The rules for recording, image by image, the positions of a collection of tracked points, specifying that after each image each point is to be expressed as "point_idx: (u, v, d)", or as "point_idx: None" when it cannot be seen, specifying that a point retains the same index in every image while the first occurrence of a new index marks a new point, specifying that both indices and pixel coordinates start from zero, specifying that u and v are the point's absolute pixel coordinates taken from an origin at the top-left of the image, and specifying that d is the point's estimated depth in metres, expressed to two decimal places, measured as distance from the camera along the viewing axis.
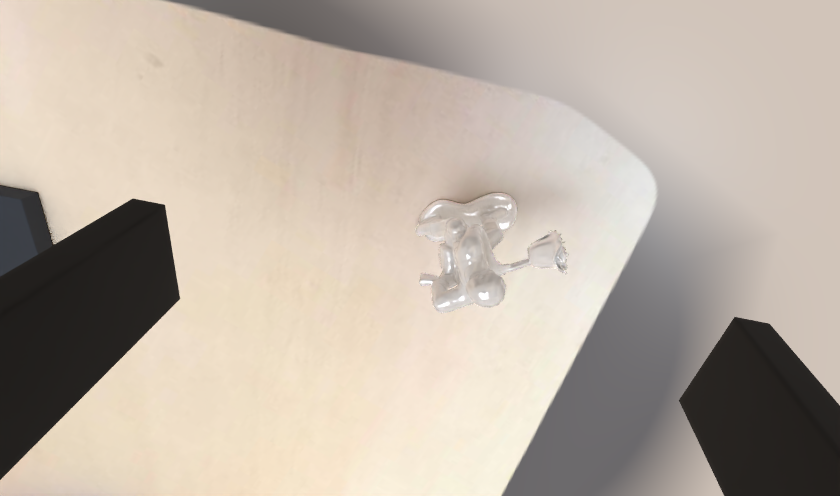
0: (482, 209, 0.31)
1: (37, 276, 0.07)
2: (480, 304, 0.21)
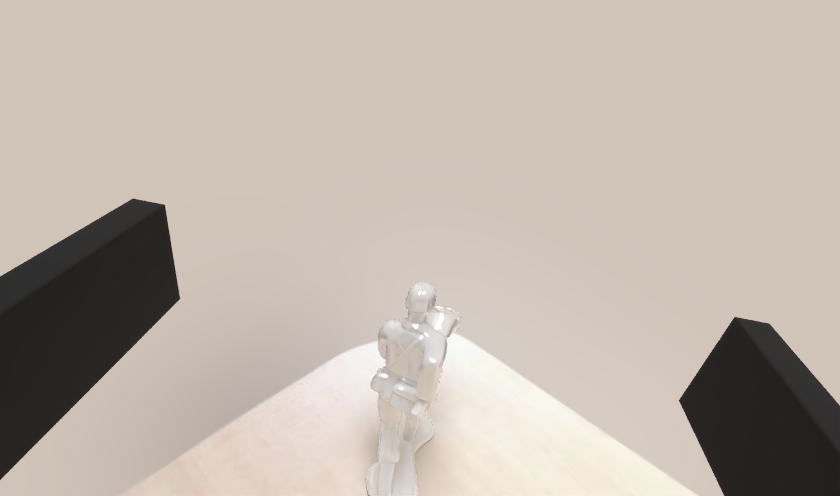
0: (400, 434, 0.28)
1: (37, 276, 0.07)
2: (427, 292, 0.22)
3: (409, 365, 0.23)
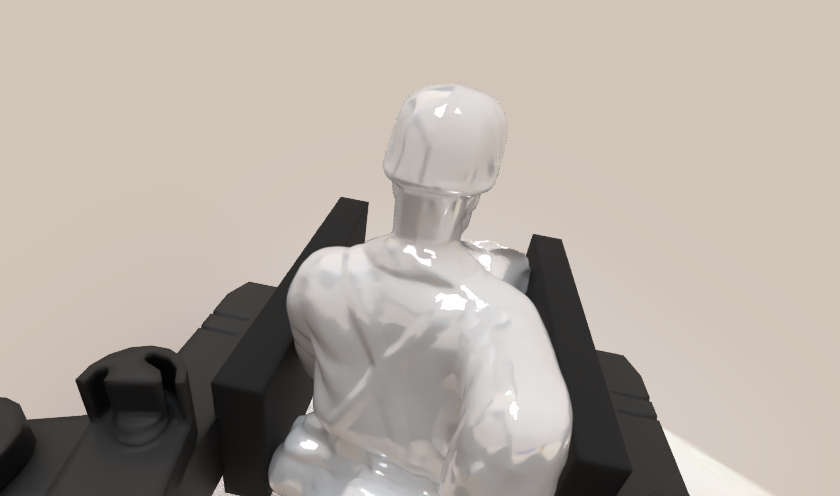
0: None
1: None
2: (476, 103, 0.05)
3: (399, 416, 0.06)
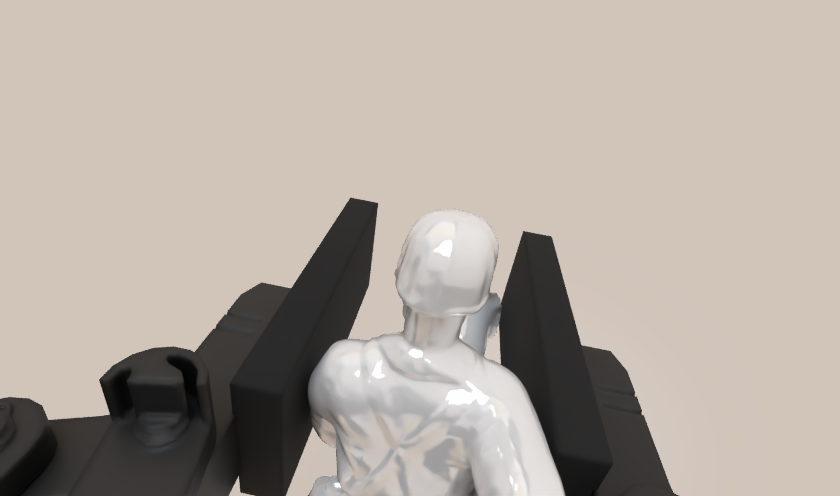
0: None
1: (335, 260, 0.09)
2: (476, 240, 0.06)
3: (417, 486, 0.07)
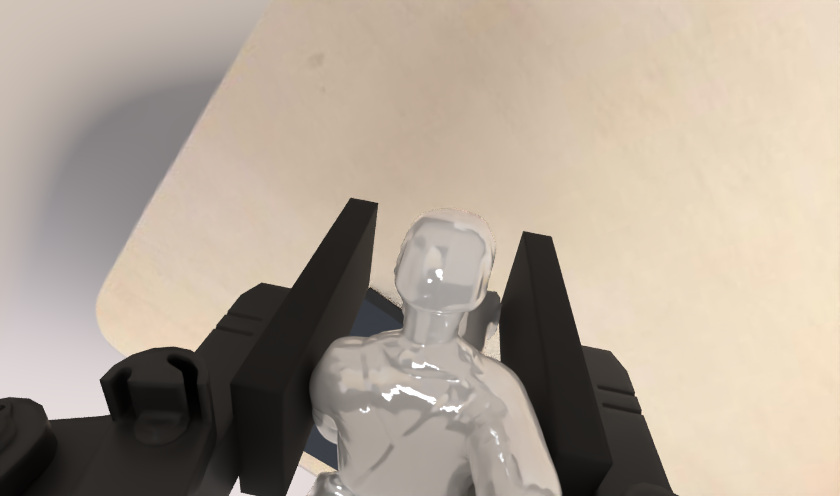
0: None
1: (335, 260, 0.09)
2: (474, 238, 0.06)
3: (416, 480, 0.07)
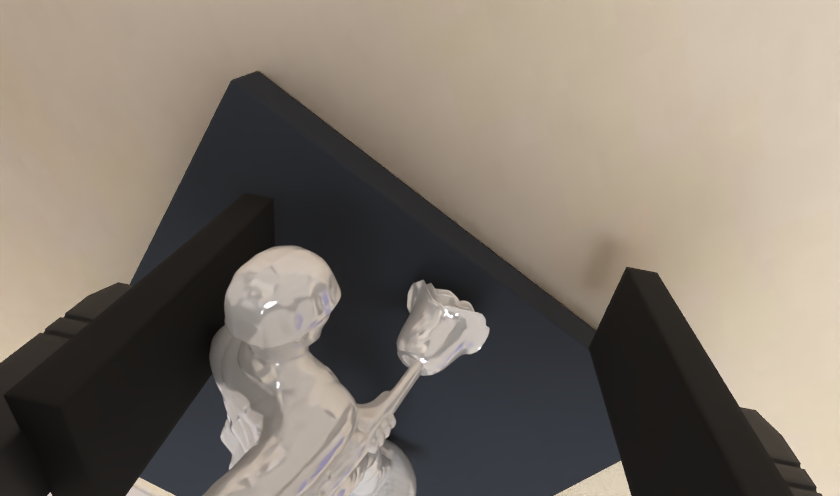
0: None
1: (196, 258, 0.09)
2: (268, 291, 0.07)
3: None
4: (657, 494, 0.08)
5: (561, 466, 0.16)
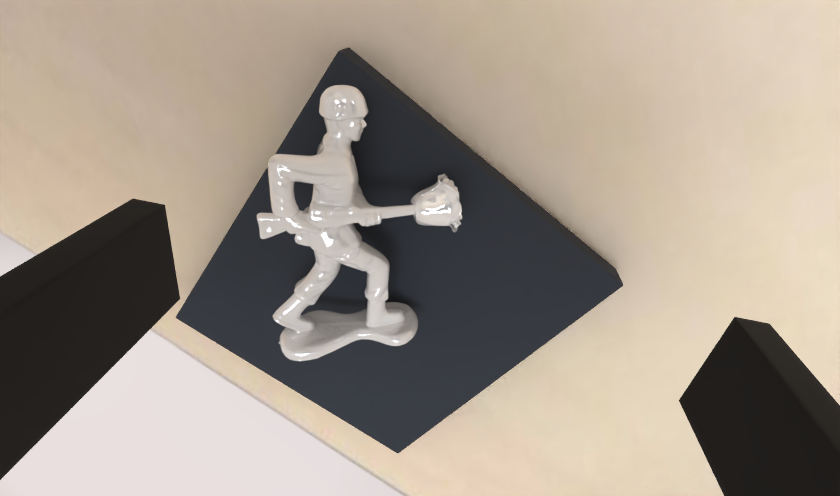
0: None
1: (37, 276, 0.07)
2: (332, 90, 0.17)
3: None
4: None
5: (540, 324, 0.23)
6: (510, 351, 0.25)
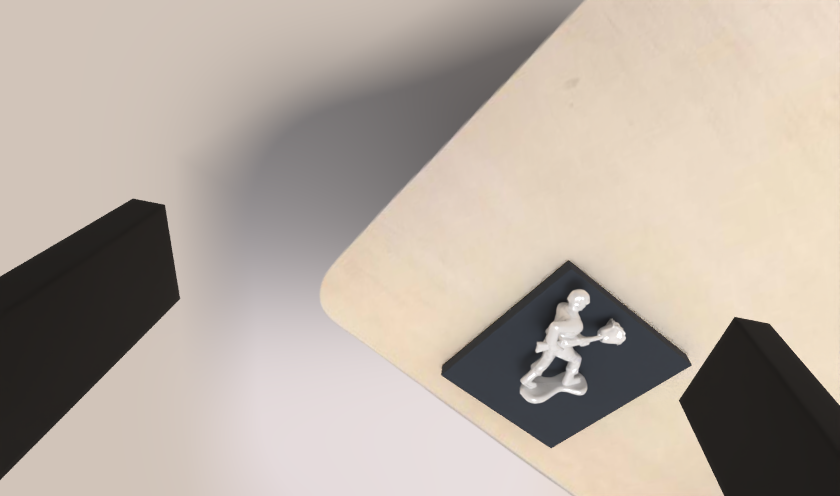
0: (562, 378, 0.46)
1: (37, 276, 0.07)
2: (578, 294, 0.39)
3: None
4: None
5: (646, 382, 0.46)
6: (628, 394, 0.47)
